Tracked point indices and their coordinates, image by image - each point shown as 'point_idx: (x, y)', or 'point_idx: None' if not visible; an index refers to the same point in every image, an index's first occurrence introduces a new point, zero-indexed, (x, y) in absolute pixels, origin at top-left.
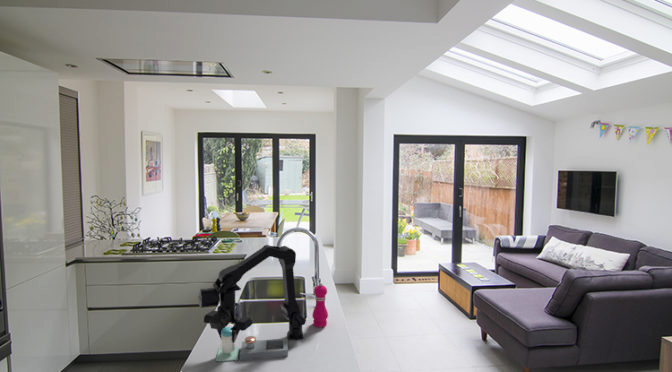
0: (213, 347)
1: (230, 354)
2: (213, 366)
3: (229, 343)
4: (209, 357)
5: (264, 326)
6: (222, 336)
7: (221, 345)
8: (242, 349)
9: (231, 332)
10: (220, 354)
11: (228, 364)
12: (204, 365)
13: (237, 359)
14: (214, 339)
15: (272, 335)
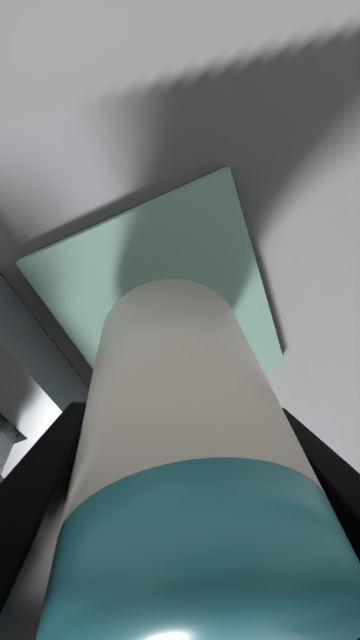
0: (333, 366)
1: None
2: (208, 67)
3: (110, 371)
4: (320, 231)
5: None
6: (264, 450)
7: (240, 336)
8: (9, 375)
9: (44, 627)
10: (230, 288)
11: (59, 160)
12: (325, 61)
13: (20, 264)
14: (356, 437)
15: None
